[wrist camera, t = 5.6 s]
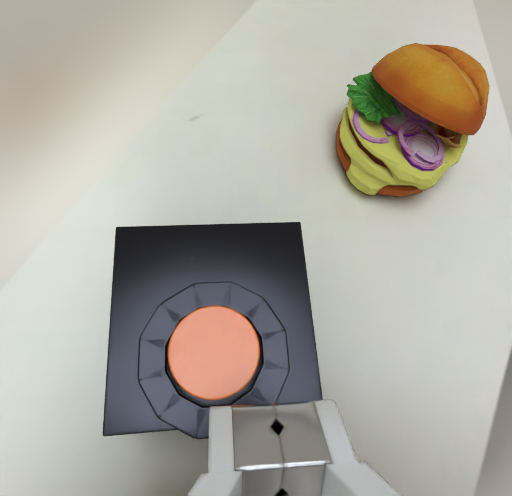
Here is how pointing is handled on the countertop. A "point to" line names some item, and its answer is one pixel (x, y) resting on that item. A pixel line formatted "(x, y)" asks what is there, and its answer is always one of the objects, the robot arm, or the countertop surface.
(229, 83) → the countertop surface
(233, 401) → the black push button box
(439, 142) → the cheeseburger
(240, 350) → the orange button cap
